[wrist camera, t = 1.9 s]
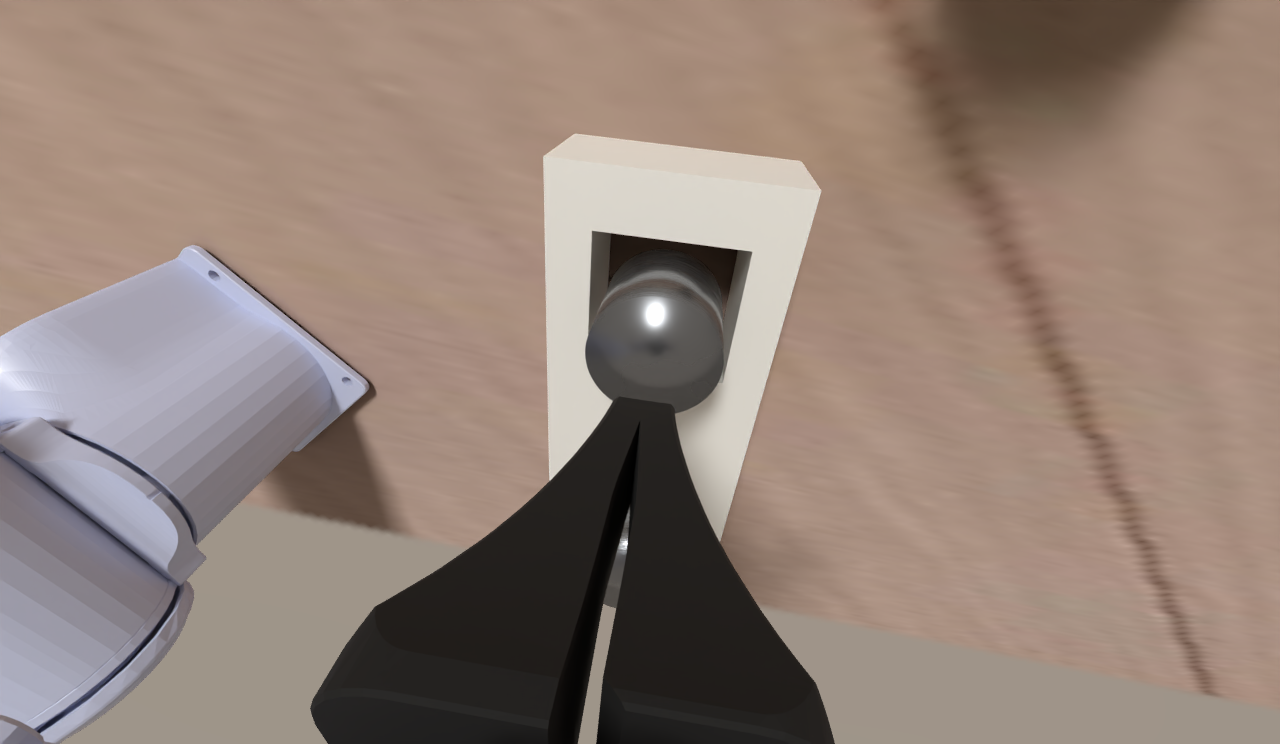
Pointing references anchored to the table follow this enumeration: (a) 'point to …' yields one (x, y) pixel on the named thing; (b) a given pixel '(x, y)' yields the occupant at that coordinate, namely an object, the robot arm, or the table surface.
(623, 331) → the peg
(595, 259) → the band board
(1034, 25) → the table surface
